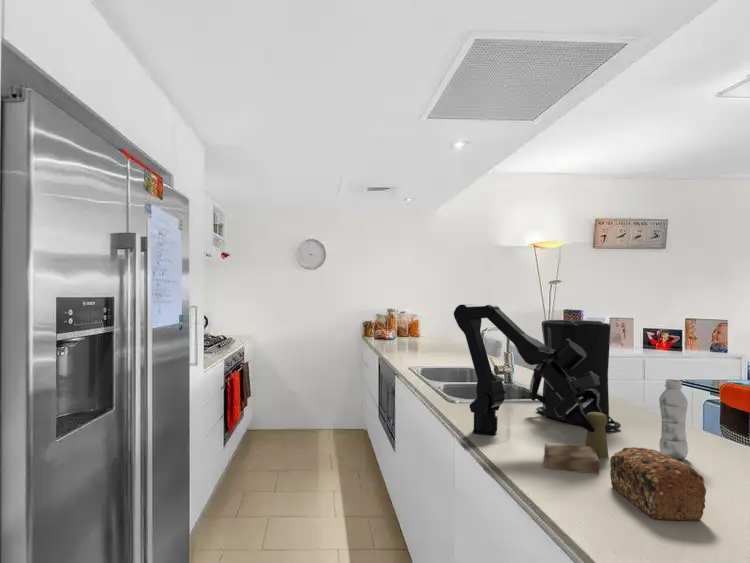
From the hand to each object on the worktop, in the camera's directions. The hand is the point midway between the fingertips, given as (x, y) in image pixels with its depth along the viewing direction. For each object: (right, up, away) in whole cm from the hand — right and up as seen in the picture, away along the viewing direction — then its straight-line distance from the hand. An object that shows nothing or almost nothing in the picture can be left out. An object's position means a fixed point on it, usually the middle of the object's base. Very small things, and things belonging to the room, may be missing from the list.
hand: (600, 428), depth 142 cm
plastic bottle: (+18, -8, -1) cm, 20 cm away
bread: (-3, -7, -32) cm, 33 cm away
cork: (-1, -7, 0) cm, 7 cm away
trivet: (-10, -7, -7) cm, 14 cm away
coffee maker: (+7, -8, +42) cm, 43 cm away
